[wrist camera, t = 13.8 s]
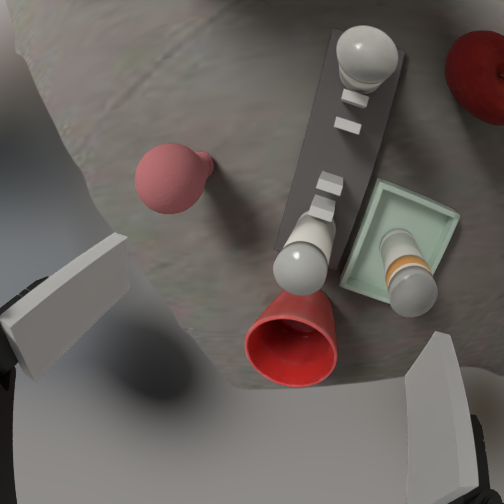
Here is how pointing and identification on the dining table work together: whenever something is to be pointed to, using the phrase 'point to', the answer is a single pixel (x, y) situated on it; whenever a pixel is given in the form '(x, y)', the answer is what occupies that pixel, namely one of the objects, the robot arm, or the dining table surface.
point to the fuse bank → (338, 152)
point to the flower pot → (294, 340)
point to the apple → (478, 74)
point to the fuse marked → (406, 274)
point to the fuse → (305, 256)
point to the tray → (389, 217)
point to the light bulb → (172, 177)
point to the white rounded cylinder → (365, 58)
